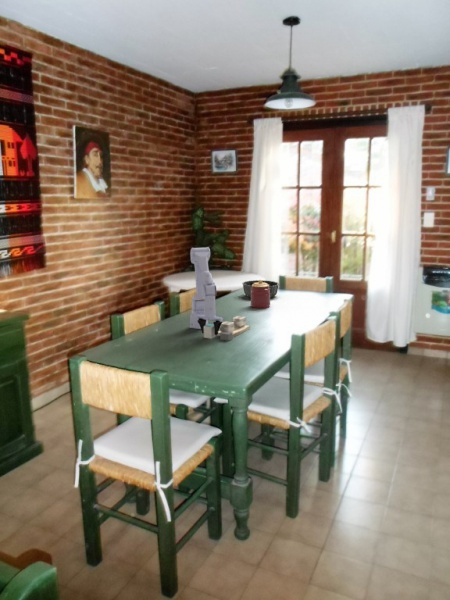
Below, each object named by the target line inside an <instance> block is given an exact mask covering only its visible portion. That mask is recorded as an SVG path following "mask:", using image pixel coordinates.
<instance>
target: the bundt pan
mask: <svg viewBox="0 0 450 600" xmlns="http://www.w3.org/2000/svg"><path fill="white" fill-rule="evenodd" d="M259 280H260V279H258V280H257V279H256V280H248V281H247V280H246V281H243V282H242V288H243V292H244V293H243V294H244V295H245V296H246V297H249V298H250V299H251V288H252V285H253V284H254V283H257V282H258V281H259ZM261 280H262V279H261ZM262 282H263V283H267V284H268V285H269V286H268V287H269V288H270V299H271V298H273V297H275V296H276V295H277V294H278V291H279V286H280V283H279V282H276V281H273V280H264V279H263V280H262Z"/></svg>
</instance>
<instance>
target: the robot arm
mask: <svg viewBox="0 0 450 600" xmlns="http://www.w3.org/2000/svg"><path fill="white" fill-rule="evenodd" d="M189 255H190V262H191V264H193V265H194V266H193V267H194V272H195V275H194V276H195V277H194V278H195V290H196V291H195V292H196V293H195V294H194V295H193V296H192V298H191V304H190V305H191V310H192V311H191V312H190V314H189V325H190V326H189V328H191V329H197V330H201V334H204V326H206V325H208V324H209V321H212V324H214V329H215V335H216V336H218V332H219V331H220V326H221V324H222V323H223V322H224V317H221V316H218V315H216V296H217V285H216V284H215V282H214V279H213V275H212V274H213V273H211V272H210V271H209V270H210V269H209V260H210V257H211V249H210V247H209V246H207V247H191V248H190V253H189Z"/></svg>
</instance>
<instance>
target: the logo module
mask: <svg viewBox="0 0 450 600" xmlns="http://www.w3.org/2000/svg"><path fill="white" fill-rule="evenodd" d="M216 337H217V335H215V329H214V324H213V323H208V325H206V326H204V333H203V338H205V339H214V338H216Z"/></svg>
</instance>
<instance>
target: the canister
mask: <svg viewBox="0 0 450 600" xmlns="http://www.w3.org/2000/svg"><path fill="white" fill-rule="evenodd" d="M258 280H259V281H258V282H257V283H254V284H253V285H252V288H251V298H250V307H251V308H254V309H268V308H270V307H271V298H270V288H269V287H268V286H269V285H268V284H267V283H263V282H262V279H258Z"/></svg>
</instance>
